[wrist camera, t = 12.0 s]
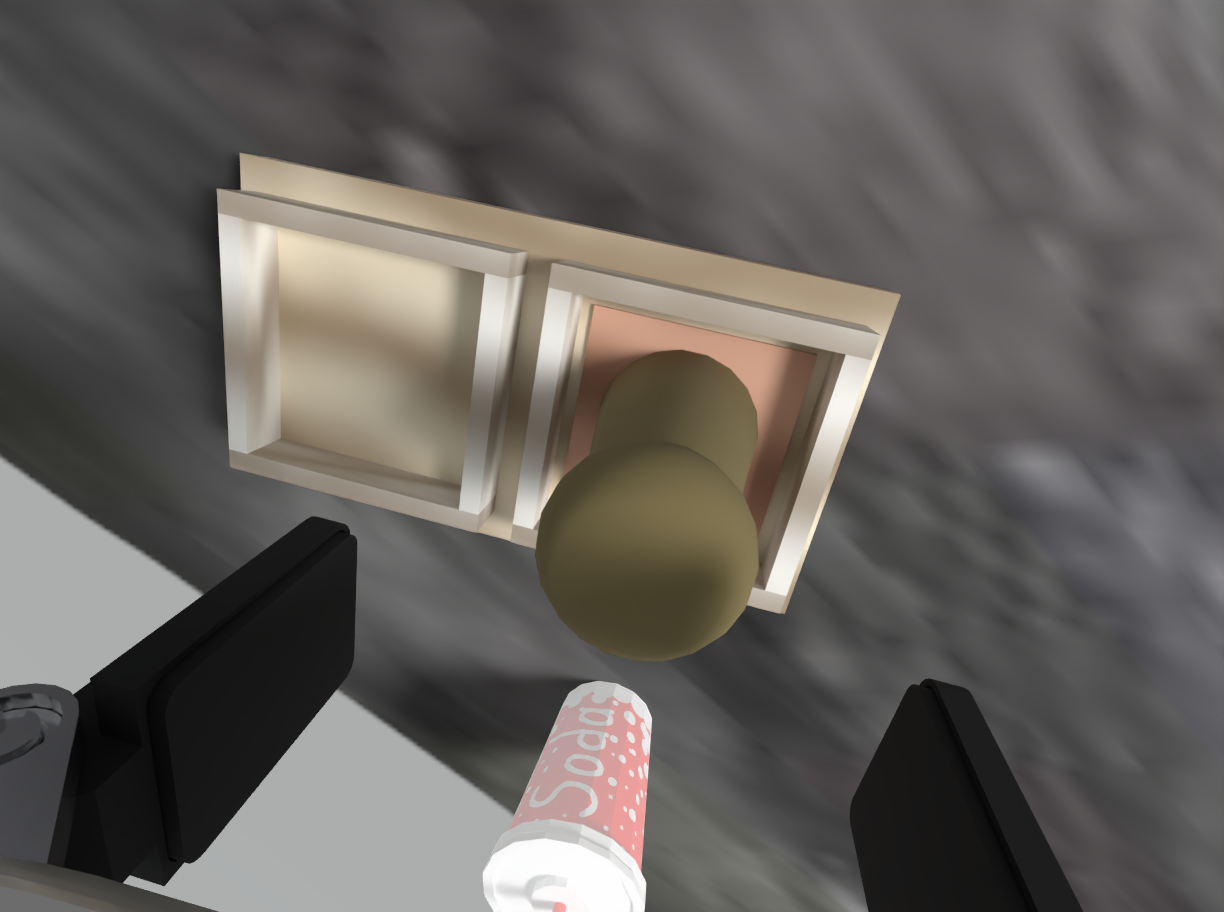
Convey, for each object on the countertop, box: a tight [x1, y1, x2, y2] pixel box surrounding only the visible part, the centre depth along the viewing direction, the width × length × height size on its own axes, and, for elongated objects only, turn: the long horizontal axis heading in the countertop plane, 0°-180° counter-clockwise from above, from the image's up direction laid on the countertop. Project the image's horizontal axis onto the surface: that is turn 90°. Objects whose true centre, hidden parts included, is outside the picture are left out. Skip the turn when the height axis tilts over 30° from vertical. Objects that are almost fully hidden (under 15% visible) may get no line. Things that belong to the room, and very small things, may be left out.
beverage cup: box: [483, 681, 652, 912], centre depth 24 cm, size 6×6×14 cm
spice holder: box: [217, 153, 901, 614], centre depth 24 cm, size 13×24×4 cm, turn 79°
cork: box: [535, 350, 759, 661], centre depth 18 cm, size 6×6×11 cm
